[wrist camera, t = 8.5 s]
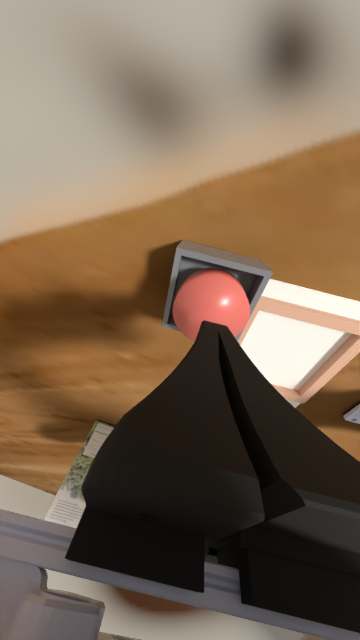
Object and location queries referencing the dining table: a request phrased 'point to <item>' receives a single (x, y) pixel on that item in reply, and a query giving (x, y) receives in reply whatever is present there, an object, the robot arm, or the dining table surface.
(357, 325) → the region terracotta
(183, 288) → the button
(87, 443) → the syrup box
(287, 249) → the dining table surface
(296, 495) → the robot arm
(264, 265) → the button base
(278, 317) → the sheet
